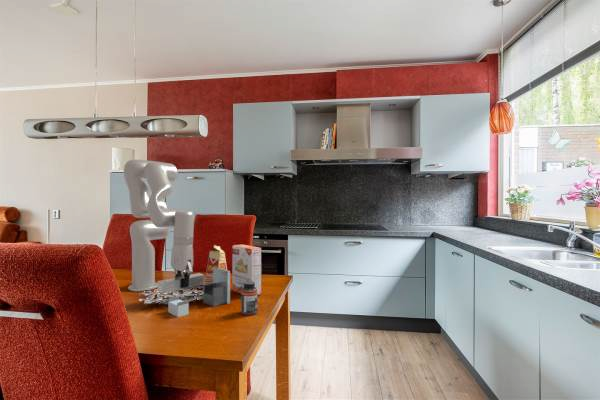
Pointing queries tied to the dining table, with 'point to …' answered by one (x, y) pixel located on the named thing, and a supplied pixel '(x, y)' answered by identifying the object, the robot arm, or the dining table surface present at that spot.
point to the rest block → (178, 307)
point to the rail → (179, 283)
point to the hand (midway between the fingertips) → (181, 285)
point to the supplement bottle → (249, 298)
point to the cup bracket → (217, 288)
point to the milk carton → (215, 263)
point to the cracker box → (246, 267)
